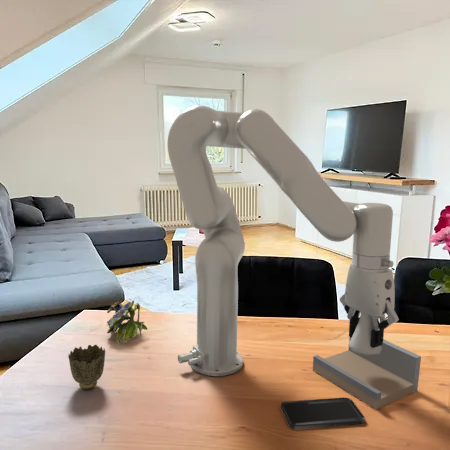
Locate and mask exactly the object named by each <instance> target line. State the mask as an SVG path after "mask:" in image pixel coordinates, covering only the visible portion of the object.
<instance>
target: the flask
mask: <svg viewBox="0 0 450 450" xmlns="http://www.w3.org/2000/svg"><path fill="white" fill-rule="evenodd" d="M359 317H360V319H359V322H358V325H357V327H356V329H355V332H354V334H353V336H352V338H351V340H350V342H349V341H348V345H347V346H348V348H349V347H350V348H351V350H352V351H353V352H357V353H361V354H366V355H372V354H380V352H381V350H382V347H381V346H378V347H375V348H372V347H371V346H370V344H371V331H372V330H373V329H374V325H373V320H372V316H370V315H368V314H365V313H363V312H361V313H360V316H359Z"/></svg>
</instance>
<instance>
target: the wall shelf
mask: <svg viewBox="0 0 450 450" xmlns="http://www.w3.org/2000/svg"><path fill="white" fill-rule="evenodd" d="M350 340H351V337H349V339H348V343H349V342H350ZM381 347H382V350H381V352H380V354H372V355H366V354H361V353H357V352H353V351H352V350H351V348H350V347H349V346H348V350H346V351H342V352H340V353H337V354H333V355H330V356H328V357H321V356H320V355H319V354H316V355H313V357H312V358H313V359H312V360H313V361H312V371H313V372H315V373H317V374H318V375H320V376H321V377H322V378H325V379H326V380H327V381H330V382H331V383H333V384H334V385H336V386H337V387H338V388H341V389H342V390H344V391H345V392H347V393H349V394H350V395H352V396H353V397H355V398H357V399H358V400H360V401H361V402H363V403H365V404H366V405H367V406H369V407H371V409H374V410H379V409H381V408H383V407H385V406H388V405H390V404H392V403H394V402H396V401H398V400H401V399H403V398H405V397H407V396H410V395H411V394H413V393H416V392H418V388H419V380H420V379H419V378H420V368H421V360H422V356H421V355H419V354H418V353H417V354H416V353H414V352H413V351H410V350H408V349H405V348H403V347H401V346H399V345H397V344H394V343H392V342H390V341H388V340H387V339H384V338H383V343H382V345H381Z"/></svg>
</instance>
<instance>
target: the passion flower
mask: <svg viewBox="0 0 450 450" xmlns="http://www.w3.org/2000/svg"><path fill="white" fill-rule="evenodd" d="M119 303H120V302H119V301H117V302H114V304H112V305H111V306H110V307H109V308H108V309H107V314H109V313H111V312H112V311H113V310H114V312H115V313H114V314H113V315H112V317H110V319H108V320H107V321H106V323H107V324H106V327H107V326H108V330H107V332H106V334H110V333H112V334H115V333H116V342H117V343H118V344H119V345H121V342H122V340H123V342H124V343H127V341H129V340H130V339H134V337H135V336H136V335H137V333H138V332H139V333H140V335H142V331H143V330H146V331H147V330H148V327H147V326H146V325H145V321H140V309H141V305H140V304H139V302H138V301H137V302H136V303H135V300H131V301H128V302H127V303H125V304H123V305H122V307H120V309H117V308H116V307H117V305H119ZM134 303H135V304H134ZM136 310H138V311H137V320H135V315H136ZM124 321H126V322H124Z"/></svg>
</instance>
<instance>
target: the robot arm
mask: <svg viewBox="0 0 450 450" xmlns="http://www.w3.org/2000/svg"><path fill="white" fill-rule="evenodd" d="M166 145H167V154H168V157H169V161H170V164H171V168H172V171H173V175H174V177H175V182H176V186H177V189H178V191H179V195H180V198H181V202H182V205H183V208H184V212H185V215H186V219H187V220H188V222H189V224H190V225H191V226H192V227H193V228H195V229H197V230H198V231H199V230H200V231H202V232H203V236H204V239H203V240H202V241H201V242H200V243H199V245H198V247H197V248H196V249H197V250H196V253H195V259H194V266H195V275H196V296H197V297H196V301H197V302H196V303H197V305H196V306H197V307H196V311H197V312H196V344H193V345H192V350H190V351H189V352H187V353H186V352H185V353H182V354H178V355H177V362H178V363H179V364H183V363H188V366H191V368H192V369H193V370H194V371H195V372H197V373H199V374H201V375H206V376H209V377H224V376H229V375H233V374H235V373H237V372H238V371H240V369H241V368H242V367H243V364H244V362H243V361H244V360H243V358H244V357H243V356H242V355H241V354H240V353H239V352H237V346H238V316H239V315H238V311H239V310H238V309H239V307H238V306H239V304H238V303H239V301H238V300H239V281H238V280H239V278H238V266H239V263H240V261H241V259H242V258H243V256H244V254H245V253H244V252H245V249H246V247H245V246H246V243H245V238H244V234H243V231H242V227H241V225H240V224H241V223H240V221H239V218H238V215H237V211H236V208H235V204H234V202H233V200H232V198H231V196H230V194H229V193H228V192H227V191H226V190H225V189H224V188H222V187H220V186H218V184H217V182H216V179H215V175H214V171H213V168H212V165H211V162H210V160H209V158H208V154H207V147H212V148H213V147H214V148H216V147H217V148H231V149H243V150H244V149H245V150H246V151H247V152H248V153H249V154H250V156H251V157H252V158H253V159H254V160H255V161H256V162H257V163H258V164H259V166H261V167H262V169H263V170H264V171H265V172H266V173H267V174H268V176H270V177H271V179H272V180H273V181H274V183H276V185H277V186H278V187H279V188H280V190H281V191H282V192H283V194H285V195H286V196H287V198H289V200H290V201H291V202H292V203H293V204H294V206H295V207H296V208H297V209H298V210H299V212H300V213H301V214H302V215H303V216H304V217H305V218H306V219H307V221H309V223H310V224H311V225H312V226H313V227H314V229H315V230H316V231H318V233H320V234H321V235H322V236H323V238H324V239H326V240H329V241H331V242H335V243H337V242H339V243H340V242H344V241H346V240H348V239H350V238H351V237H352V235H353V243H352V244H353V245H352V254H351V255H352V259H351V263H350V264H349V267H348V272H347V276H346V281H345V289H344V294H342V295H341V296H340V297H339V302H340V303H341V305H342V306H343V310H345V312H346V314H347V315H346V316H347V317H346V318H347V319H348V320H349V324H348V325H349V327H348V337H349V338H350V337H351V338H352V336H353V334H354V332H355V329H356V327H357V325H358V322H359V319H360V315H361V312H363V313H365V314H368V315H370V316H372V320H373V325H374V329H373V330H372V331H371V344H370V346H371V347H372V348H375V347H378V346H381V345H382V343H383V339H384V335H385V334H384V332H385V329H387V328H388V327H390V326H392V325H393V324H394V323H397V322H398V321H399V320H400V319H399V317H398V315H397V313H396V311H395V300H396V299H395V296H396V295H395V294H396V293H395V291H396V290H395V289H396V288H395V279H394V272H393V270H392V269H390V268H392V267H393V266H394V261H393V260H391V246H392V245H391V243H392V233H393V217H394V216H393V215H394V212H393V207H392V206H390V205H389V204H386V203H382V202H381V203H380V202H362V203H359V202H358V203H356V202H349V201H343V200H342V199H341V198H340V197H339V196H338V194H336V193H335V191H334V190H333V189H332V188H331V187H330V185H329V184H328V183H327V182H326V181H325V180H324V179H323V177H321V175H320V174H319V172H318V171H317V169H316V167H315V165H314V164H313V162H312V161H311V159H309V157H308V156H307V155H306V154H305V153H304V152H303V150H301V148H300V147H299V146H298V145H297V144H296V143H295V142H294V141H293V139H291V138H290V136H289V135H288V134H287V133H286V132H285V131H284V130H283V129H282V127H280V125H279V124H278V123H277V122H276V121H275V120H274V118H273V117H272V116H271V115H270V114H269V113H267V112H266V111H265V110H262V109H259V108H253V109H249V110H247V111H245V112H239V111H238V112H237V111H226V110H216V109H214V108H212V107H210V106H207V105H206V106H205V105H202V104H201V105H193V106H190V107H188V108H186V109H184V110H183V111H182V112H181V113H180V114H179V115H178V116H177V117H176V119H175V120H174V121H173V123H172V124H171V126H170V129H169V132H168V135H167V144H166ZM386 316H387V318H386Z"/></svg>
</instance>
